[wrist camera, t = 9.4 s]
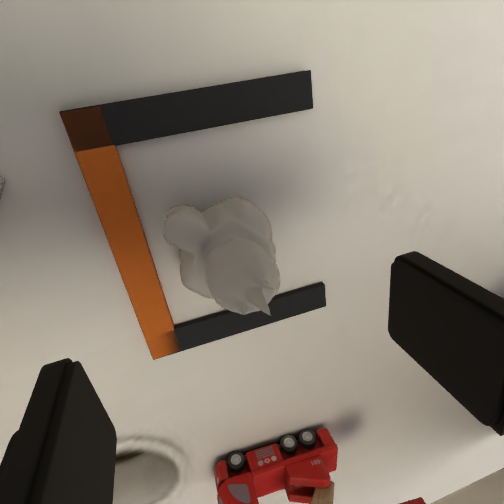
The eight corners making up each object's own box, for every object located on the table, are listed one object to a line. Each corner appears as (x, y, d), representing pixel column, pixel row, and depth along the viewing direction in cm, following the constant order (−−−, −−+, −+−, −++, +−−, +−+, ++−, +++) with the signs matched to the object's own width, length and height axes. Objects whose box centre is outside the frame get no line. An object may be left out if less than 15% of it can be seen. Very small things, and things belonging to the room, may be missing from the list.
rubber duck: (231, 292, 21) (273, 386, 14) (136, 241, 18) (127, 329, 11) (283, 223, 20) (356, 286, 13) (191, 158, 17) (221, 194, 10)
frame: (60, 111, 15) (58, 111, 14) (307, 70, 17) (311, 69, 17) (153, 356, 21) (153, 360, 21) (323, 303, 23) (326, 306, 23)
